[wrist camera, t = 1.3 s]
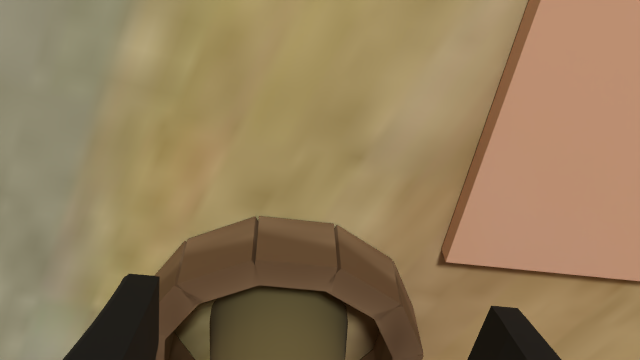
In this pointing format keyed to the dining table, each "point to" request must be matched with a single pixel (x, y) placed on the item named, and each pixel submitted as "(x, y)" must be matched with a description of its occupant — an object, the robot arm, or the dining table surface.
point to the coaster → (560, 149)
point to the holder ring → (287, 278)
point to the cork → (278, 325)
